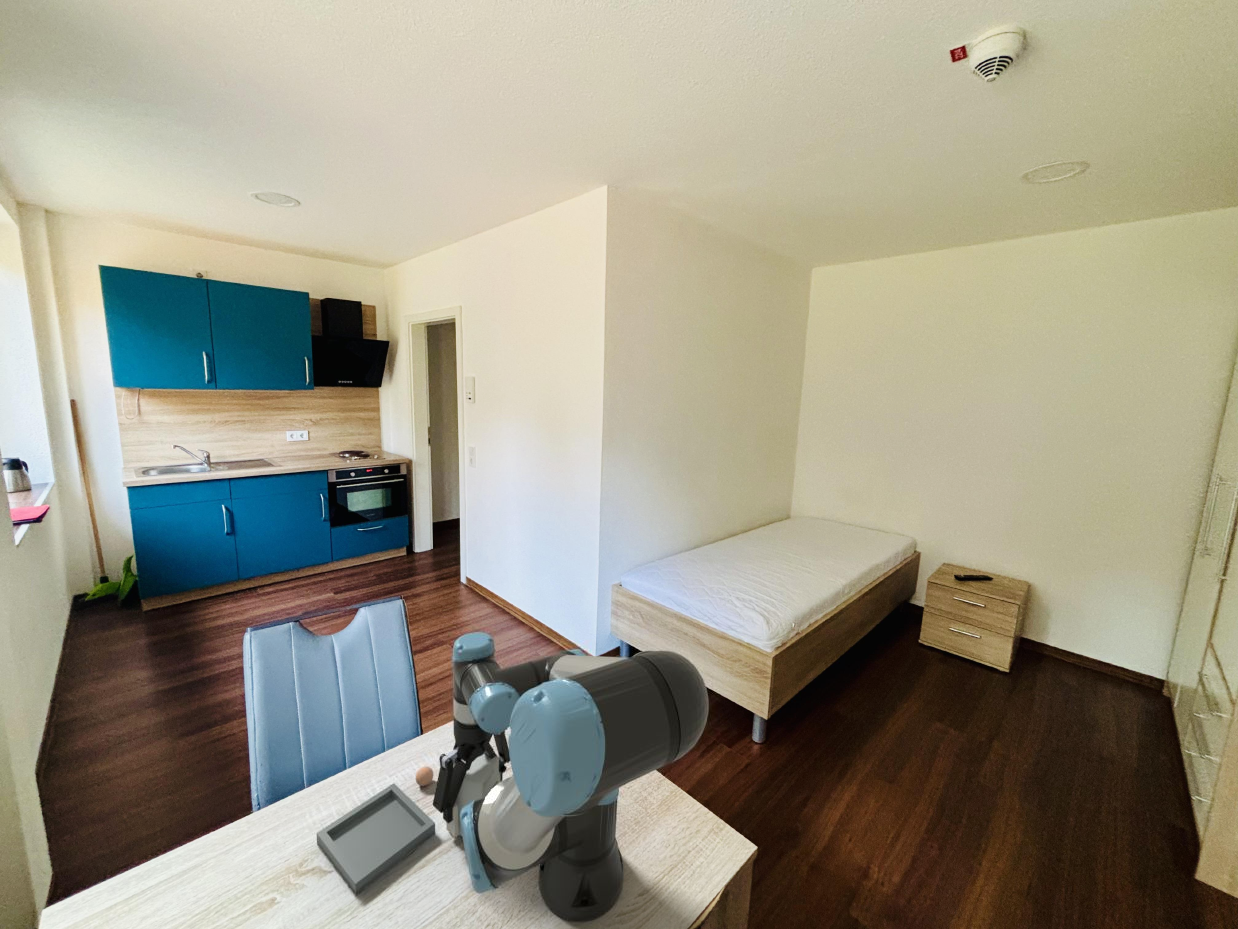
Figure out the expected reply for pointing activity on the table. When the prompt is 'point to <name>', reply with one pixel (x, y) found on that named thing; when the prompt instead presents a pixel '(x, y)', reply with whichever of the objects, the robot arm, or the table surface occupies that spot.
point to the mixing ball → (424, 776)
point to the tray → (375, 837)
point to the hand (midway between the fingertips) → (474, 814)
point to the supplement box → (477, 782)
